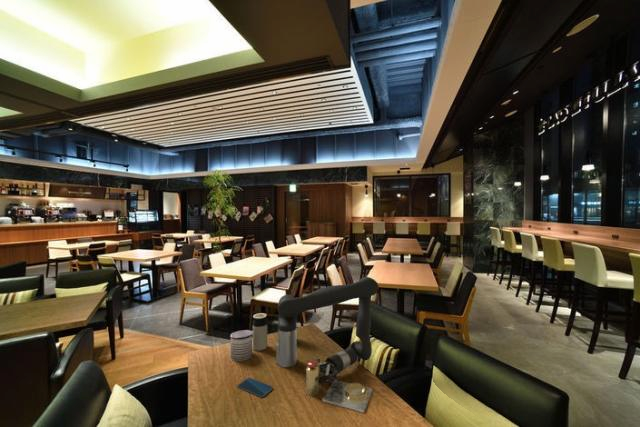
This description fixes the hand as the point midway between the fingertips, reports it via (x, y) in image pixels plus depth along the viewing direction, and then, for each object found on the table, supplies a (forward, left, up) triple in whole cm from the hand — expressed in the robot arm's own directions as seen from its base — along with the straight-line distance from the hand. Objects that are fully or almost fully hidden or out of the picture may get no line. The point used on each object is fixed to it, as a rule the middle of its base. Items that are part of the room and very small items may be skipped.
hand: (311, 376), depth 115 cm
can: (-47, +14, -7) cm, 49 cm away
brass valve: (0, +1, -7) cm, 7 cm away
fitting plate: (+15, +4, -7) cm, 16 cm away
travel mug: (-43, +25, -7) cm, 50 cm away
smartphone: (-24, -6, -7) cm, 26 cm away
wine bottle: (-33, +39, -7) cm, 51 cm away
